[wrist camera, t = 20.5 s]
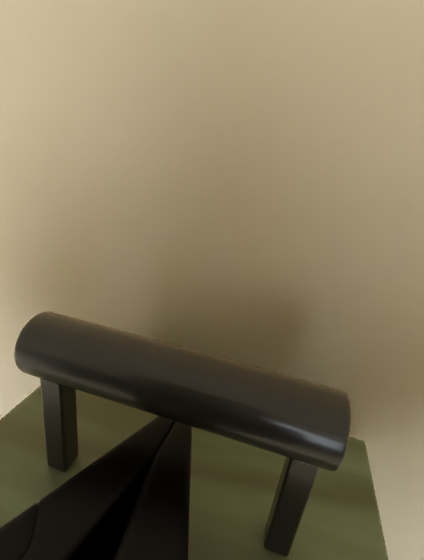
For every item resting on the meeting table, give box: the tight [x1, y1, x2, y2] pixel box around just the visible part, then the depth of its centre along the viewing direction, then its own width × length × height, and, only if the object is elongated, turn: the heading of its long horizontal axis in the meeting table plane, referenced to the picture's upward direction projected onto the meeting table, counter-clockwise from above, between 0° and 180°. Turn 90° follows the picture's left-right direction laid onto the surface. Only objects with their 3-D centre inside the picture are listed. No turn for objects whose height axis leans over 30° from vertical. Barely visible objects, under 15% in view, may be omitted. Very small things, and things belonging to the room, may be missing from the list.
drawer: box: [0, 312, 388, 560], centre depth 11 cm, size 17×11×7 cm
